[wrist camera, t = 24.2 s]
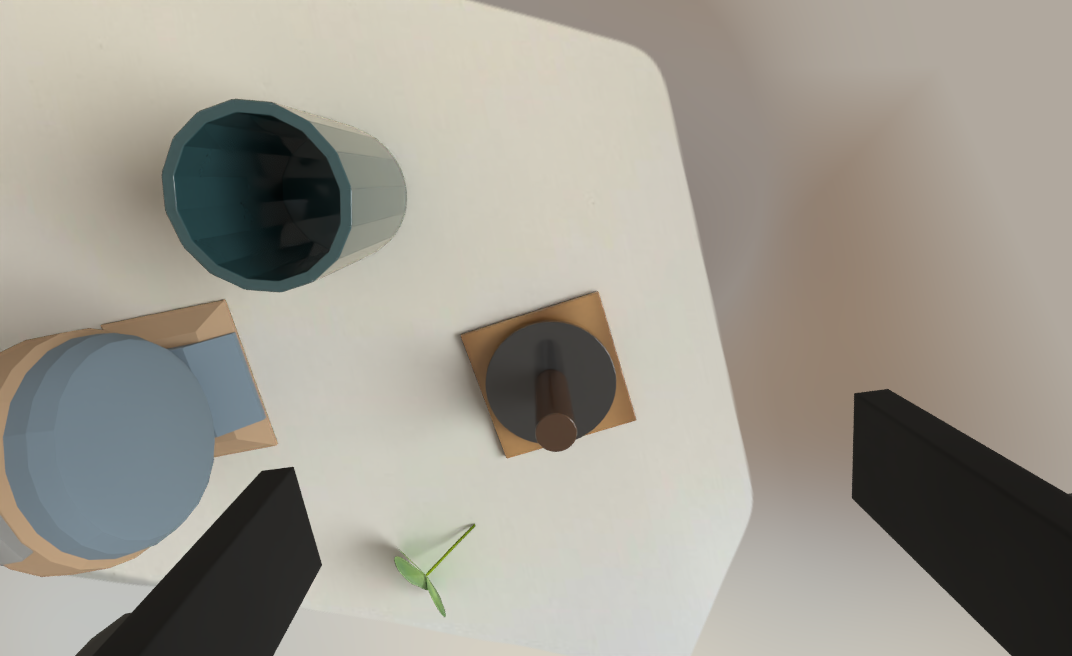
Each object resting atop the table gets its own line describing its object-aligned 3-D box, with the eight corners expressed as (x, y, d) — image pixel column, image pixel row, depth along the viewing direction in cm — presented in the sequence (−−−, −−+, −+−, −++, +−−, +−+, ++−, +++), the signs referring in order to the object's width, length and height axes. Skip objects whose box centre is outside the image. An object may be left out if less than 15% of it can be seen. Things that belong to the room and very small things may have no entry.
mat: (598, 290, 41) (598, 292, 40) (635, 417, 44) (636, 420, 43) (461, 334, 41) (460, 335, 41) (506, 455, 44) (506, 458, 44)
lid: (530, 293, 40) (530, 325, 31) (639, 360, 42) (669, 409, 33) (462, 398, 42) (445, 456, 33) (569, 458, 44) (579, 529, 35)
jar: (377, 107, 37) (304, 72, 25) (425, 235, 39) (380, 260, 27) (255, 150, 38) (127, 136, 26) (310, 273, 40) (215, 314, 28)
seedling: (458, 513, 51) (405, 567, 49) (436, 481, 45) (374, 542, 42) (510, 566, 48) (456, 627, 45) (495, 540, 41) (431, 609, 39)
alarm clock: (97, 311, 41) (-216, 407, 24) (220, 286, 40) (-7, 365, 23) (168, 476, 44) (-57, 661, 27) (281, 454, 44) (124, 629, 27)
